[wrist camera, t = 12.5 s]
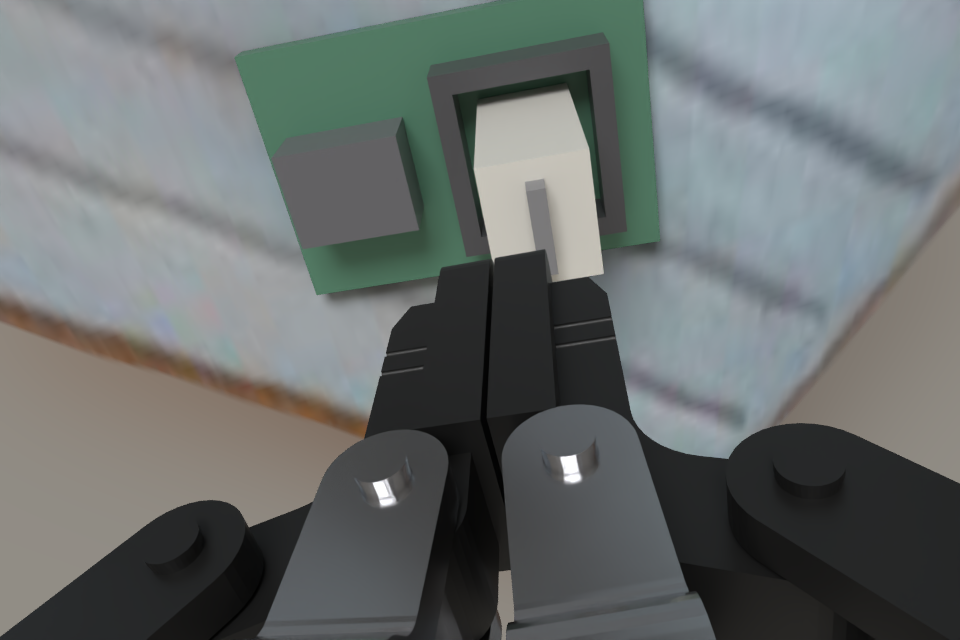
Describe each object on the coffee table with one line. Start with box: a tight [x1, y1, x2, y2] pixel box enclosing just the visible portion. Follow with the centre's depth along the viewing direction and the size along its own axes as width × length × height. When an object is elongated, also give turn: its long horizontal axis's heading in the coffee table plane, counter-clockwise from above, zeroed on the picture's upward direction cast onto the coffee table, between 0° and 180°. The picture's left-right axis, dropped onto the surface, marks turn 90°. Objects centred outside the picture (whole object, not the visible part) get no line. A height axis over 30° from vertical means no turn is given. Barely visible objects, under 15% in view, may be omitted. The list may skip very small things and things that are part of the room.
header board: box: [235, 0, 660, 295], centre depth 31 cm, size 16×11×4 cm
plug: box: [474, 83, 604, 282], centre depth 27 cm, size 4×4×9 cm
